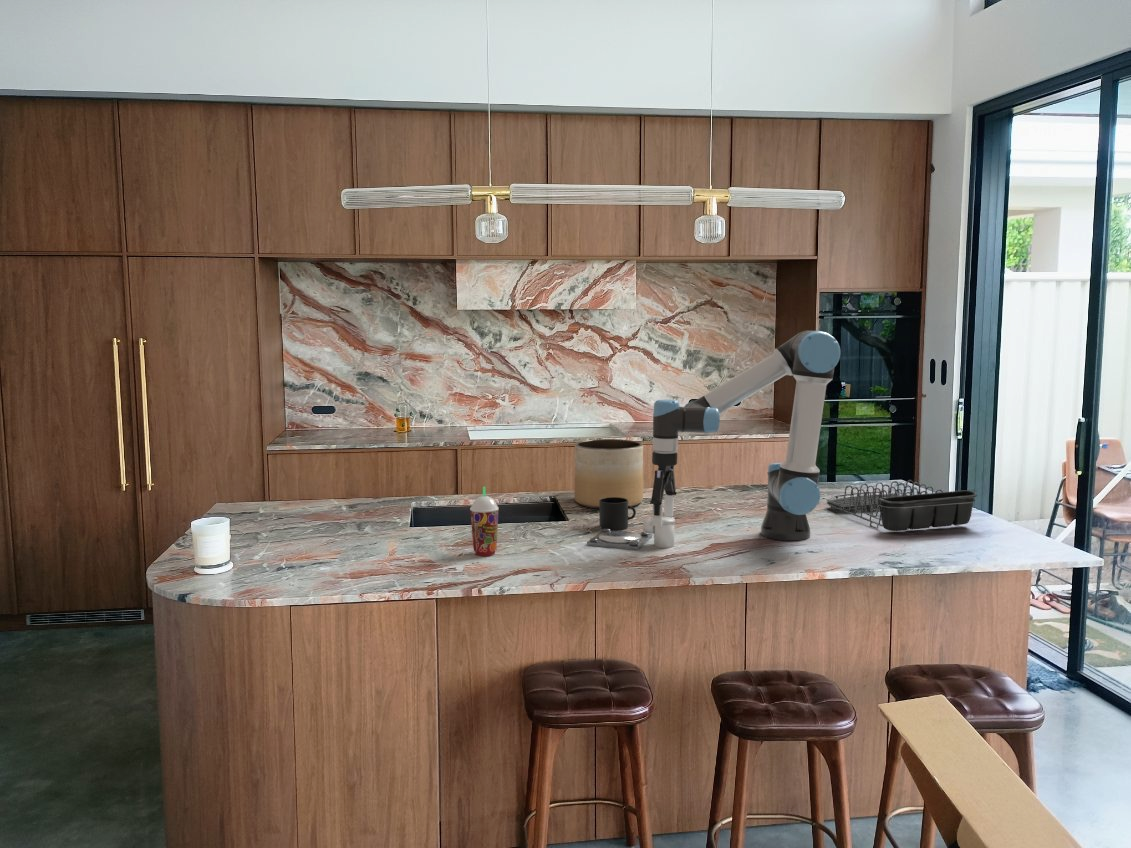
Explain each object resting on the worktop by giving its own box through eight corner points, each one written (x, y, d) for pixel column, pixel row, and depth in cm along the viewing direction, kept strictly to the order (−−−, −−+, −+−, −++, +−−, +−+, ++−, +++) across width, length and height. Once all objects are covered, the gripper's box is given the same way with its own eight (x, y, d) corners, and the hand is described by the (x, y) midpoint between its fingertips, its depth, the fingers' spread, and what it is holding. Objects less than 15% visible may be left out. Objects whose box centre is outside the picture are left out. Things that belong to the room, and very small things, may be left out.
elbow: (677, 543, 272) (677, 517, 271) (672, 549, 266) (672, 522, 265) (647, 540, 275) (647, 515, 274) (641, 546, 269) (642, 520, 268)
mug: (637, 530, 288) (637, 502, 287) (600, 530, 288) (600, 503, 287) (634, 523, 297) (634, 496, 296) (598, 523, 297) (598, 497, 296)
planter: (578, 494, 343) (578, 438, 340) (644, 496, 340) (645, 439, 337) (570, 509, 318) (569, 448, 315) (641, 511, 315) (641, 449, 312)
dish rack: (889, 538, 278) (890, 500, 277) (815, 507, 321) (816, 474, 319) (981, 530, 287) (983, 494, 285) (897, 502, 329) (898, 470, 328)
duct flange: (651, 537, 279) (651, 531, 279) (637, 550, 264) (637, 544, 264) (603, 532, 285) (603, 527, 285) (586, 545, 270) (586, 539, 270)
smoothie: (488, 559, 255) (486, 490, 253) (465, 555, 260) (463, 487, 257) (505, 552, 262) (504, 485, 260) (482, 548, 267) (481, 483, 264)
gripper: (663, 444, 279) (661, 511, 282) (641, 456, 256) (639, 528, 259) (686, 446, 276) (684, 513, 279) (666, 458, 253) (664, 531, 256)
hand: (663, 520), depth 269 cm, fingers open, 13 cm apart
